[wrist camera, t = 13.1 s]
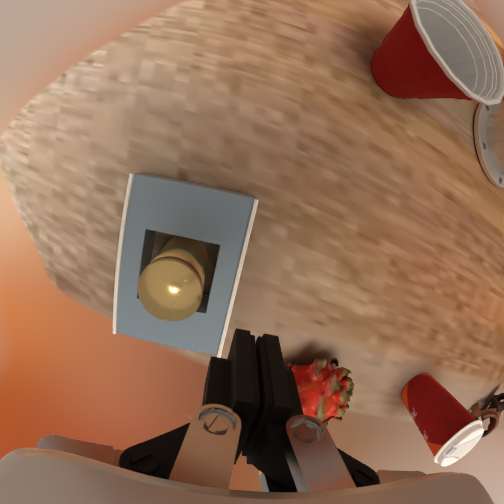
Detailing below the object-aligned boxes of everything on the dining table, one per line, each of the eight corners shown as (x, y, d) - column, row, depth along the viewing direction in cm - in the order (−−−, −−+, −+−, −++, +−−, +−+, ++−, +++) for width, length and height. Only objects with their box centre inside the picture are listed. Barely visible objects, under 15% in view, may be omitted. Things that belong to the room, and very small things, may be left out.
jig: (144, 173, 24) (129, 173, 20) (253, 195, 25) (259, 200, 21) (126, 312, 27) (112, 333, 23) (220, 333, 29) (220, 357, 25)
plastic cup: (444, 78, 23) (517, 59, 12) (409, 141, 25) (494, 135, 14) (375, 13, 21) (434, -36, 9) (329, 69, 23) (391, 16, 11)
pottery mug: (472, 423, 43) (476, 446, 36) (454, 406, 45) (458, 430, 38) (511, 391, 38) (519, 413, 31) (495, 371, 40) (504, 394, 33)
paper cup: (385, 405, 35) (427, 473, 21) (414, 364, 33) (469, 429, 20) (417, 406, 36) (458, 464, 23) (444, 369, 34) (495, 423, 21)
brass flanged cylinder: (165, 229, 26) (140, 253, 18) (213, 240, 26) (207, 268, 19) (158, 275, 27) (134, 314, 19) (203, 285, 27) (196, 327, 20)
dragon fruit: (342, 340, 32) (265, 388, 35) (317, 332, 26) (224, 389, 29) (376, 400, 27) (291, 443, 30) (360, 410, 21) (254, 458, 24)
